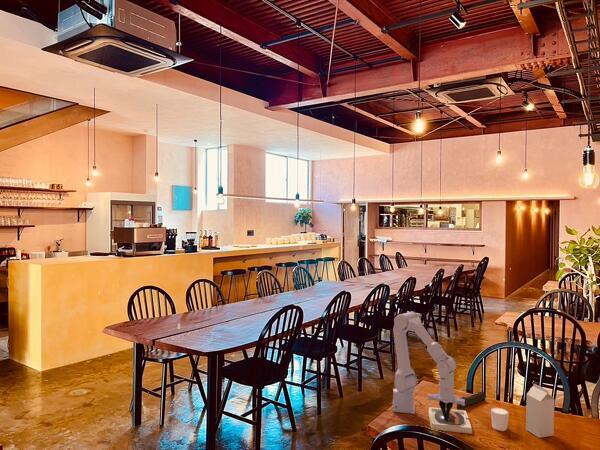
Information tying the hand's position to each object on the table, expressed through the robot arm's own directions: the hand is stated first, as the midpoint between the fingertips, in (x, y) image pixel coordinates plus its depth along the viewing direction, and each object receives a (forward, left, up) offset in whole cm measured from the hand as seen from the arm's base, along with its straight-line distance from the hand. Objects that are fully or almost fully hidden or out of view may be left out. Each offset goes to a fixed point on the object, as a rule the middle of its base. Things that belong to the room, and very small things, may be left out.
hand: (445, 419), depth 184 cm
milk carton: (+37, +3, -3) cm, 37 cm away
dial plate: (+2, +4, -3) cm, 5 cm away
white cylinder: (+22, +4, -3) cm, 22 cm away
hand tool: (+14, +24, -3) cm, 28 cm away
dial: (+2, +4, -1) cm, 4 cm away
